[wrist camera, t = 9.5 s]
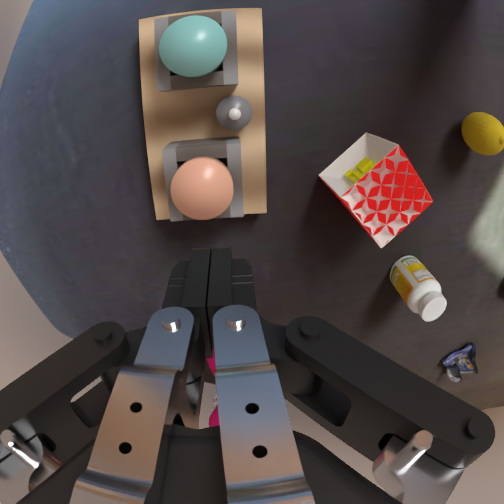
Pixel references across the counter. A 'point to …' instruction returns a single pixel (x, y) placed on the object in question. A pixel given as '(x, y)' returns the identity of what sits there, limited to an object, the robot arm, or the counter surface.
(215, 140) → the mount
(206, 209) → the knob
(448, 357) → the snack package
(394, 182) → the red patterned cube box
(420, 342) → the counter surface
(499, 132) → the lemon
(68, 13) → the counter surface
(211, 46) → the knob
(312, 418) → the robot arm
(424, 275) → the supplement bottle
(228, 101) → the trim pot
